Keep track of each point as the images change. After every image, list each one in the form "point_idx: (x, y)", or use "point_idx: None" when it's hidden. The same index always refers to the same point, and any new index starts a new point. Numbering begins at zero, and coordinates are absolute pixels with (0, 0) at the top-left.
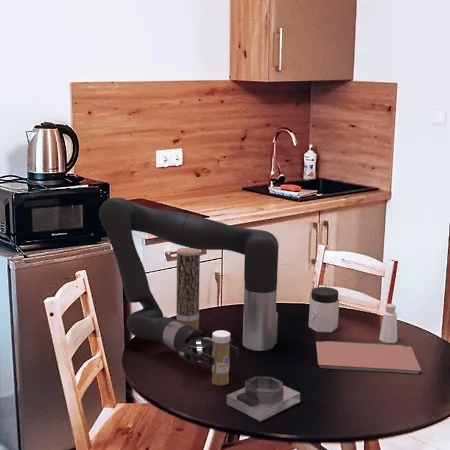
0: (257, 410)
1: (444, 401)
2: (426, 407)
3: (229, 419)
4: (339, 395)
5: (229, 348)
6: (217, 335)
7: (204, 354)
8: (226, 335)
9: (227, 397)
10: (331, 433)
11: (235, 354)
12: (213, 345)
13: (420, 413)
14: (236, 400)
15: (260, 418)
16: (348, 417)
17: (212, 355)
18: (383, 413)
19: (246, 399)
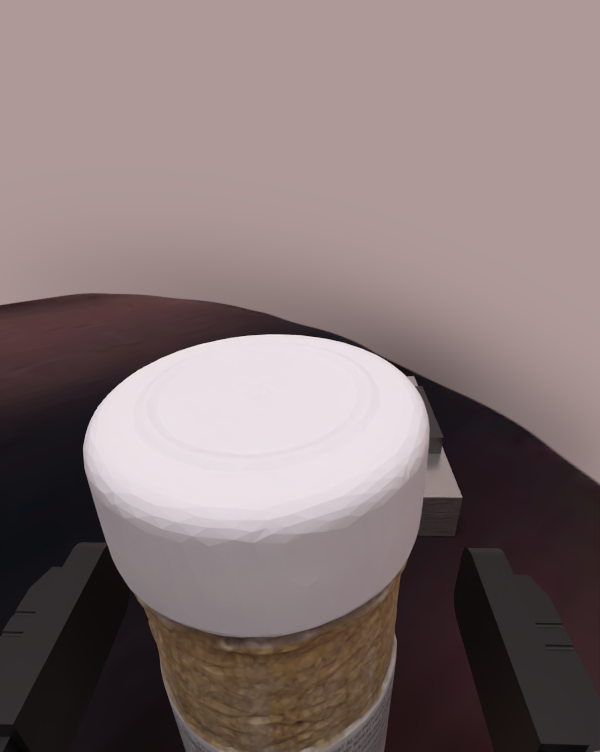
0: (416, 385)
1: (25, 301)
2: (69, 305)
3: (509, 460)
4: (91, 379)
5: (60, 679)
6: (386, 377)
7: (561, 685)
8: (276, 335)
9: (459, 502)
10: (300, 329)
11: (119, 600)
12: (398, 585)
13: (103, 303)
14: (443, 454)
15: None
16: (206, 337)
17: (386, 707)
18: (141, 321)
19: (424, 404)
